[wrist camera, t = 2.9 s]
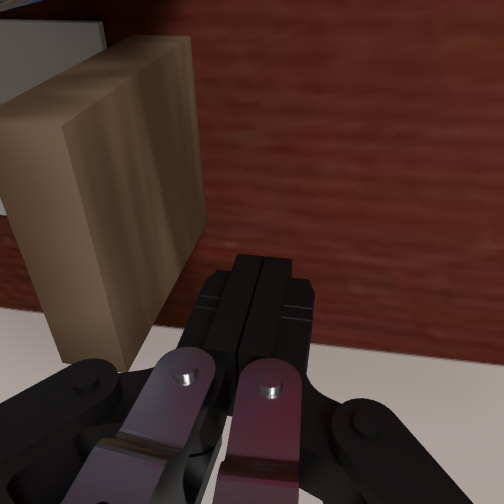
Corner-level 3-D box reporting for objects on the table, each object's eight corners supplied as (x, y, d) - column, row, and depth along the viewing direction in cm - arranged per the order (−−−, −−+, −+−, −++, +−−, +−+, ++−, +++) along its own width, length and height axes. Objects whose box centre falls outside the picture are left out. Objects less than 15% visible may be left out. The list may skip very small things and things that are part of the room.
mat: (102, 21, 20) (97, 23, 19) (140, 224, 26) (137, 228, 25) (-83, 17, 21) (-90, 19, 21) (-7, 210, 27) (-12, 213, 27)
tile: (190, 35, 19) (61, 126, 11) (207, 222, 25) (127, 373, 17) (129, 34, 20) (-35, 120, 12) (159, 218, 25) (59, 362, 17)
